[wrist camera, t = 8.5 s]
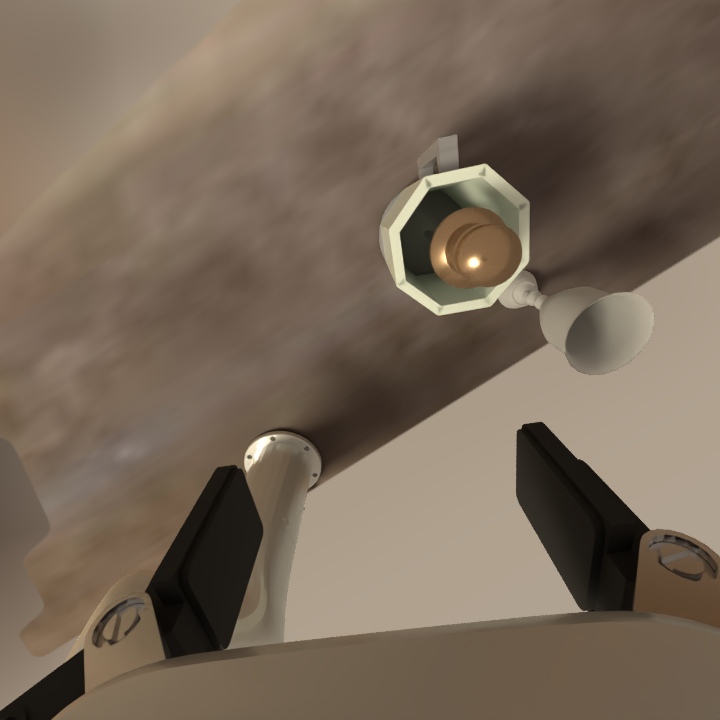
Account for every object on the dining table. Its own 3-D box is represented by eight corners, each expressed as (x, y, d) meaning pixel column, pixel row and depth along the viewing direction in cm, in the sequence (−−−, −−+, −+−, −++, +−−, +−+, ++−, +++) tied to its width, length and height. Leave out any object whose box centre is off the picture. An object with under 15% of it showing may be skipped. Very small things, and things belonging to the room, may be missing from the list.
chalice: (512, 251, 42) (607, 276, 26) (555, 275, 43) (674, 314, 27) (479, 303, 45) (546, 356, 28) (521, 324, 46) (609, 387, 29)
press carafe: (475, 272, 43) (533, 303, 28) (386, 289, 44) (398, 327, 29) (469, 151, 38) (536, 113, 23) (368, 173, 39) (371, 149, 24)
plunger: (454, 255, 41) (538, 294, 21) (408, 263, 41) (448, 310, 21) (450, 204, 38) (541, 196, 19) (401, 214, 39) (440, 216, 19)
